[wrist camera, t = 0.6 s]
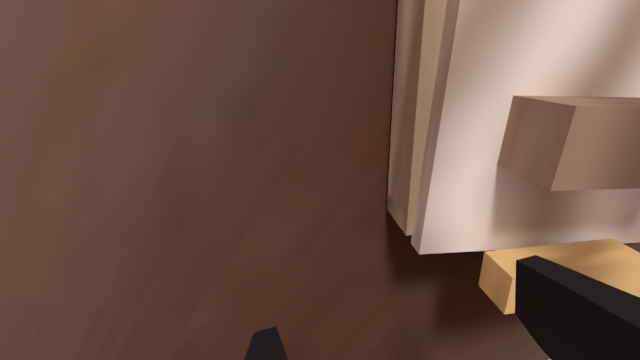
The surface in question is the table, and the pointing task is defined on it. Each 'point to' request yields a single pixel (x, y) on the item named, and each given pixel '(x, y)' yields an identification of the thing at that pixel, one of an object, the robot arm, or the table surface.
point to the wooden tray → (412, 102)
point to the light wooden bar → (584, 257)
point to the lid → (532, 127)
